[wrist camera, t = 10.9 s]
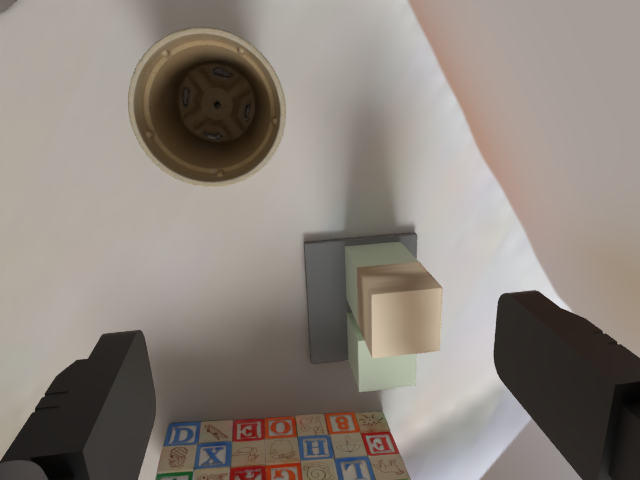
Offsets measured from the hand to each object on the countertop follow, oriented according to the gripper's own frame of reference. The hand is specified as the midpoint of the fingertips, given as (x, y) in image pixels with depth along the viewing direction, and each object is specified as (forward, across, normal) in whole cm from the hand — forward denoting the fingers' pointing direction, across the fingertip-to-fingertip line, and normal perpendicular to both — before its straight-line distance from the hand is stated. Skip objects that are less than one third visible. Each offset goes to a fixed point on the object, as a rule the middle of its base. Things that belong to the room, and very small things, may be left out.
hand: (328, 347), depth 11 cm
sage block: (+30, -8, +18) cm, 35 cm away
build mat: (+30, -7, +14) cm, 34 cm away
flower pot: (+30, +4, -4) cm, 31 cm away
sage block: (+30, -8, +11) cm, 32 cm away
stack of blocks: (+30, +2, +29) cm, 42 cm away
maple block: (+24, -8, +11) cm, 28 cm away
